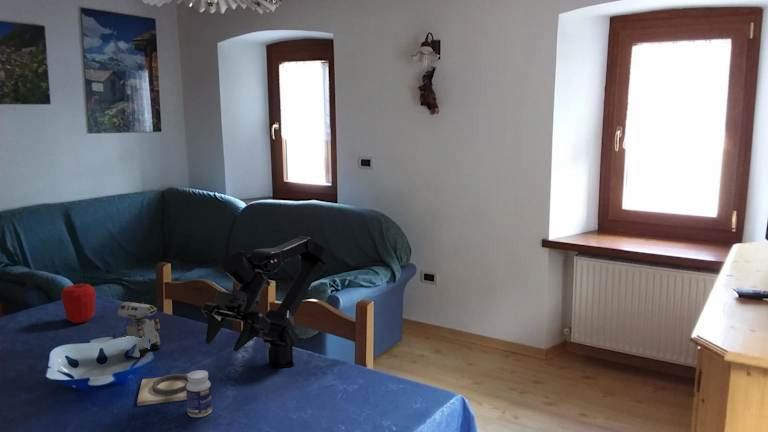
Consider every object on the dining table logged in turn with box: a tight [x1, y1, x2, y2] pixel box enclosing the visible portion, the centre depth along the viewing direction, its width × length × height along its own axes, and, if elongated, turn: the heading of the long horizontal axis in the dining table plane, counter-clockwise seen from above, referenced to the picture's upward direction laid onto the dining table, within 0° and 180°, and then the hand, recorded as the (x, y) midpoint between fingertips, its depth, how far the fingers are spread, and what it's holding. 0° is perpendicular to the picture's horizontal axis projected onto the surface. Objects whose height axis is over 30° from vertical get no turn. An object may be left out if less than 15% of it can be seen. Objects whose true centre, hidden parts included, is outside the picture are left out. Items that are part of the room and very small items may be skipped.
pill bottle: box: [186, 369, 213, 418], centre depth 150 cm, size 6×6×10 cm
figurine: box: [112, 301, 162, 350], centre depth 186 cm, size 9×12×15 cm
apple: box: [61, 282, 96, 325], centre depth 211 cm, size 10×10×14 cm
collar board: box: [136, 373, 189, 407], centre depth 162 cm, size 16×13×2 cm
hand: (220, 347), depth 155 cm, fingers open, 9 cm apart
